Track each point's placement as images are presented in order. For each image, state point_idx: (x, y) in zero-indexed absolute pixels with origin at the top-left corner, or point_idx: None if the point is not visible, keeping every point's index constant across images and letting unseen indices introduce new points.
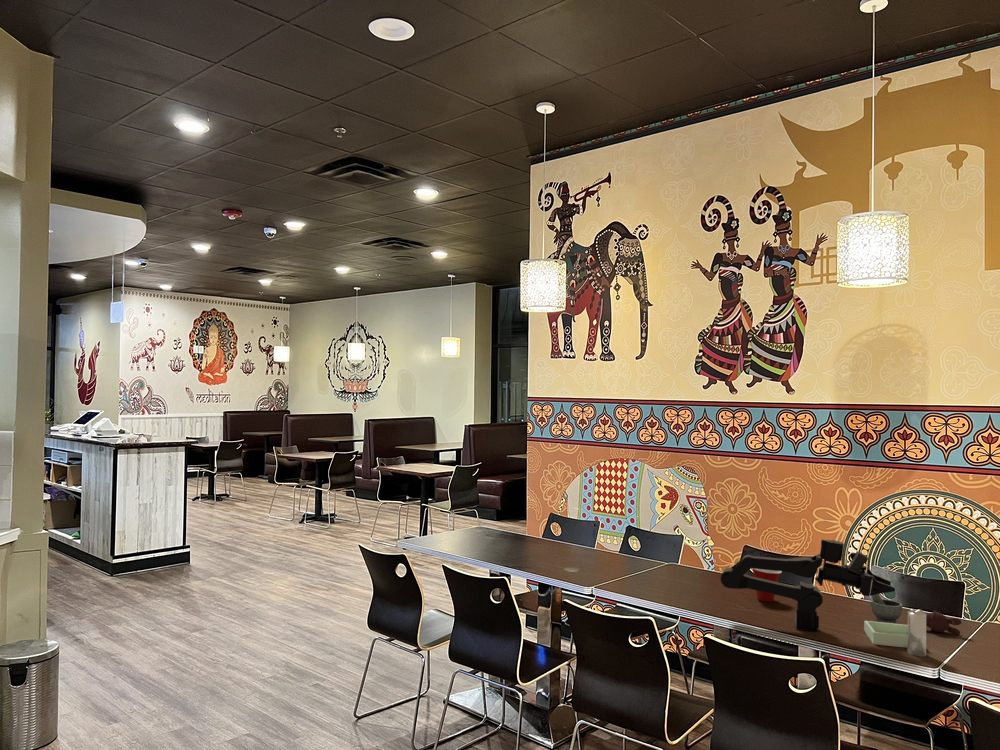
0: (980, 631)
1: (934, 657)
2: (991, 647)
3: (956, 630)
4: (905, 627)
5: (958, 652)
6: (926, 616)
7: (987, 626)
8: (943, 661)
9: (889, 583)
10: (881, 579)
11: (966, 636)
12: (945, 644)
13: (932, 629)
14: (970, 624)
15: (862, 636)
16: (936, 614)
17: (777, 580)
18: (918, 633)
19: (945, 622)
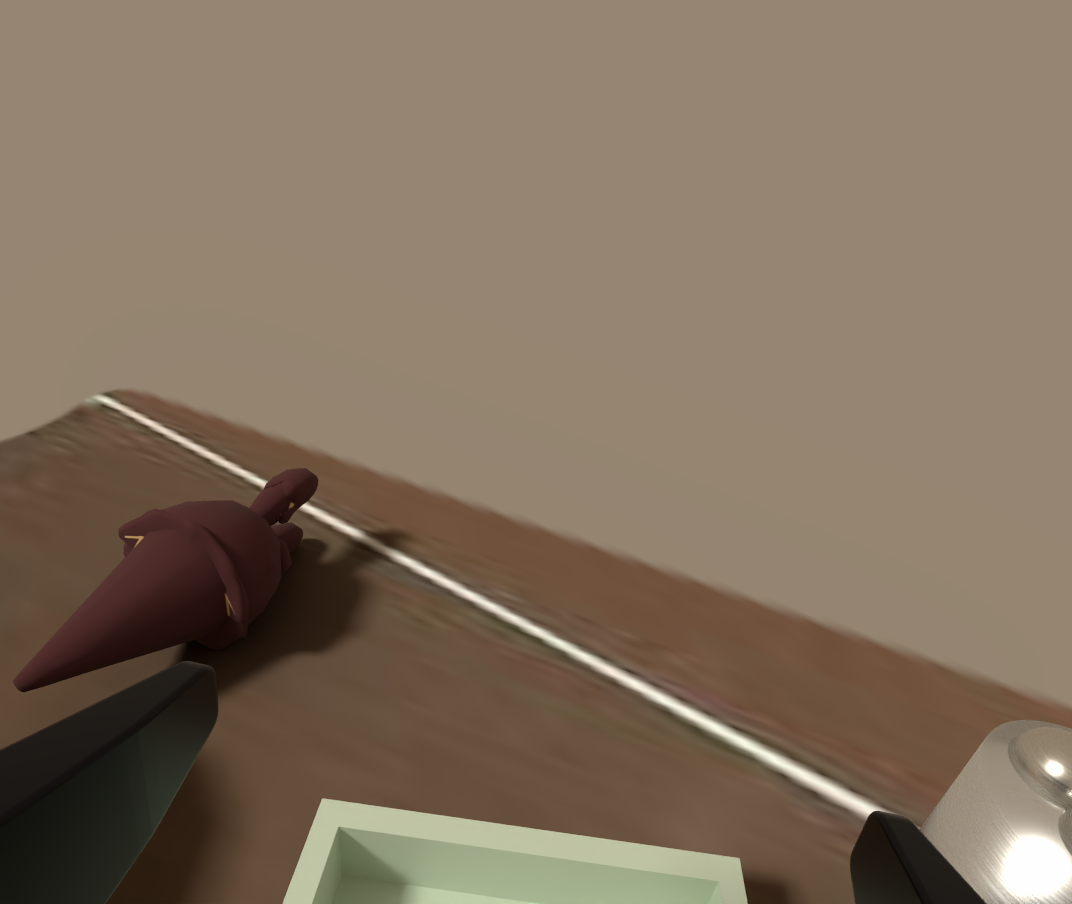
0: (234, 452)
1: None
2: (495, 512)
3: (293, 534)
4: (330, 868)
5: (658, 680)
6: (171, 592)
7: (160, 407)
8: None
9: (205, 714)
10: (29, 836)
11: (318, 526)
12: (503, 683)
13: (231, 635)
14: (111, 439)
15: None
16: (225, 531)
17: None
18: None
19: (277, 539)
